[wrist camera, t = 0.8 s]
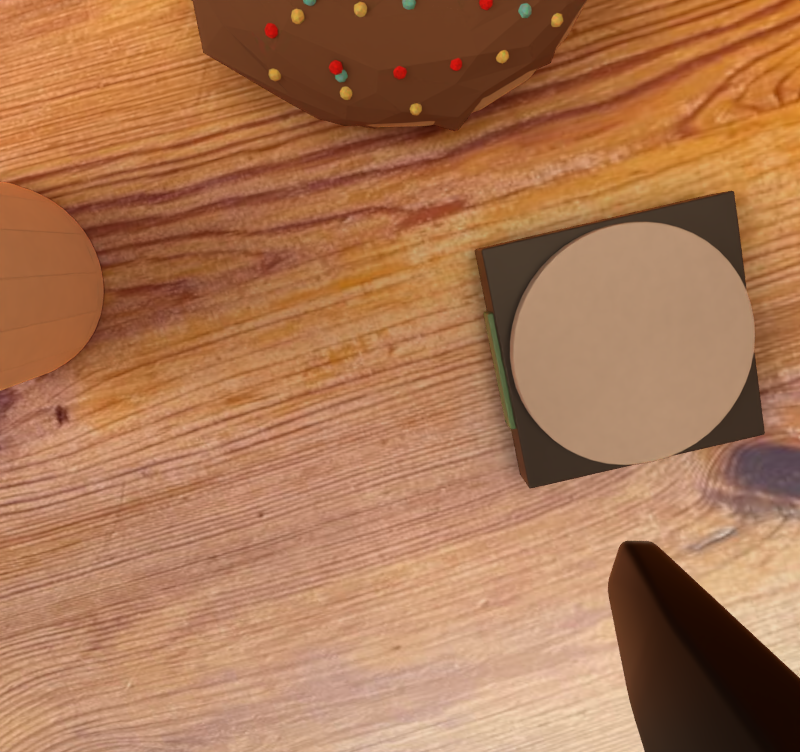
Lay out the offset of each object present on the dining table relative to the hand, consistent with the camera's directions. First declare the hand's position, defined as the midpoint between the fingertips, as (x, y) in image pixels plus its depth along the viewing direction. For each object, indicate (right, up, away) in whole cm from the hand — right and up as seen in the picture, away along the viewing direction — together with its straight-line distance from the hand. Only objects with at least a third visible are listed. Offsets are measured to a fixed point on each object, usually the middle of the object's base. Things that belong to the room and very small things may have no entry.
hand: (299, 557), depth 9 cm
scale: (+10, +4, +16) cm, 19 cm away
